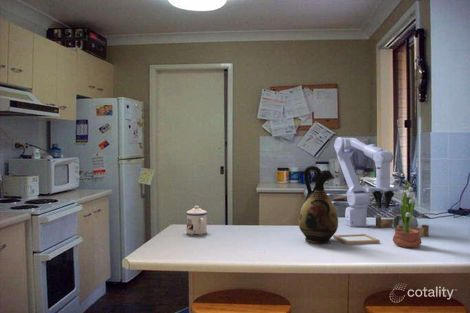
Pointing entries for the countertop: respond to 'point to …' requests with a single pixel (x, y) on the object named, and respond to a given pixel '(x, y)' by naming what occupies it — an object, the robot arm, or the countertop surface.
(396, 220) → the ceramic mug
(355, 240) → the frame lid
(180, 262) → the countertop surface
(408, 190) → the potted flower
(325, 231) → the ceramic jug
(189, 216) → the teacup with lid
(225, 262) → the countertop surface
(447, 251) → the countertop surface
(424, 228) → the cedar frame
